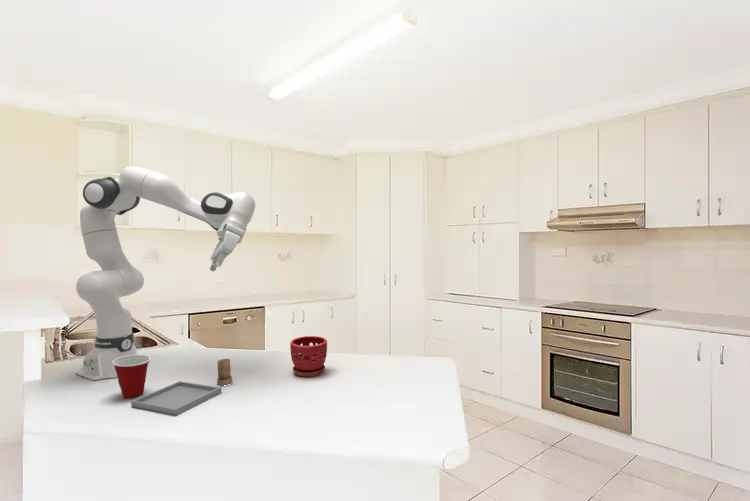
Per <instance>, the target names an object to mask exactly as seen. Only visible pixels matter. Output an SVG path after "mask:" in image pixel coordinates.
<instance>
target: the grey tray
mask: <svg viewBox="0 0 750 501" xmlns="http://www.w3.org/2000/svg"><path fill="white" fill-rule="evenodd" d="M219 393H220V394H222V386H214V385H207V384H200V383H194V382H188V381H183V380H182V381H181V380H180V381H176V382H174V383H172V384H169V385H167V386H164V387H162V388H160V389H157V390H155V391H152V392H150V393H148V394H145V395H142V396H139V397H137V398H135V399H134V400H131V402H130V403H131V407H130V408H133V409H134V408H135V409H137V410H144V411H147V412H154V413H159V414H164V415H168V416H173V417H177V416H179V415H181V414H183V413H185V412H186V411H189V410H190V409H193V408H195V407H196V406H199V405H201V404H202V403H205V402H206V400H207V401H208V399H209V400H210V398H211V399H212V397H213V398H215V397H216V396H218V395H220V394H219ZM204 401H205V402H204Z"/></svg>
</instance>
